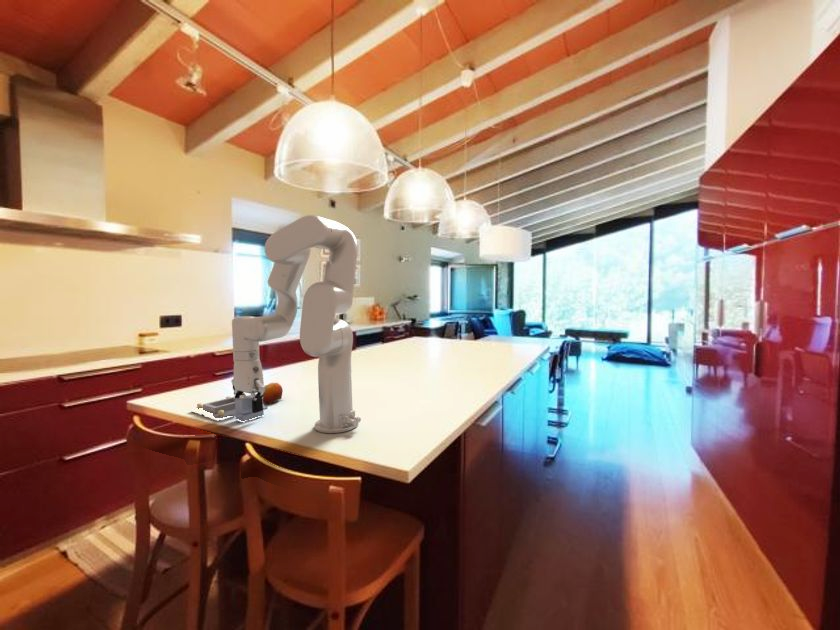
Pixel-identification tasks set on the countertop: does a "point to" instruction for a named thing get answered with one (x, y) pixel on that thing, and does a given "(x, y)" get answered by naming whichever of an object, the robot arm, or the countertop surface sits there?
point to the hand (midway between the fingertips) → (248, 409)
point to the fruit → (272, 393)
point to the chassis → (220, 407)
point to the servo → (246, 408)
